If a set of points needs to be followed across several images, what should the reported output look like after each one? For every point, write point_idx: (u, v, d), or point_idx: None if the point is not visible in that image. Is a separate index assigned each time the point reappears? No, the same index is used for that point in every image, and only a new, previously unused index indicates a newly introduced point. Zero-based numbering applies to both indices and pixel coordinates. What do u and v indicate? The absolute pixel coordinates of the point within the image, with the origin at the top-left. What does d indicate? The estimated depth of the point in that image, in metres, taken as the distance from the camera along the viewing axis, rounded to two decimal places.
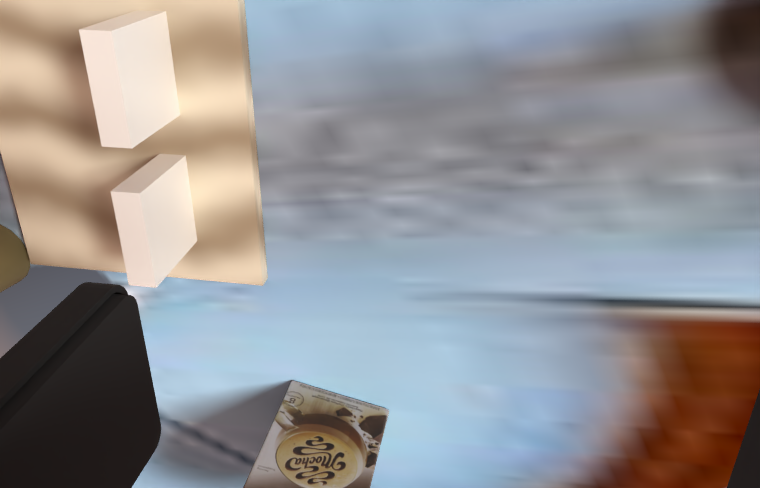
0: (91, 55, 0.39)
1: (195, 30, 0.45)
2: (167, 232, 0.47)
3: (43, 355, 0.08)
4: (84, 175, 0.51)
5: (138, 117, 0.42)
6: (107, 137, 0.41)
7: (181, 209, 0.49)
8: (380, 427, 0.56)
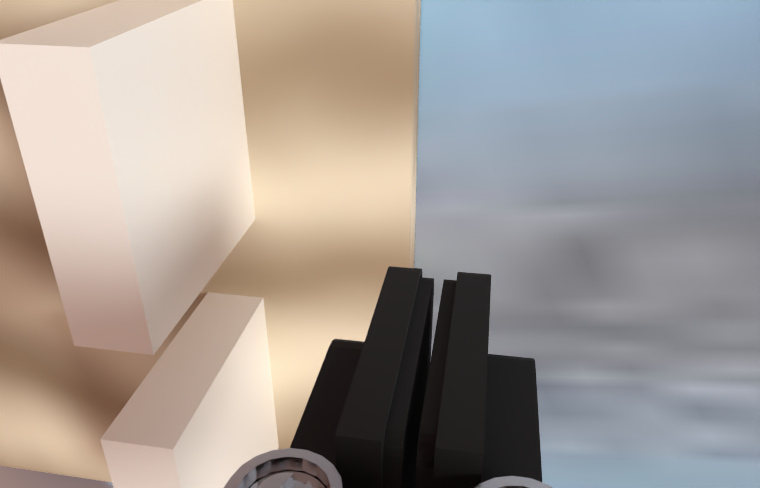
0: (33, 119, 0.13)
1: (301, 34, 0.19)
2: None
3: (402, 333, 0.09)
4: (54, 324, 0.25)
5: (168, 268, 0.16)
6: (88, 326, 0.16)
7: (255, 411, 0.23)
8: None
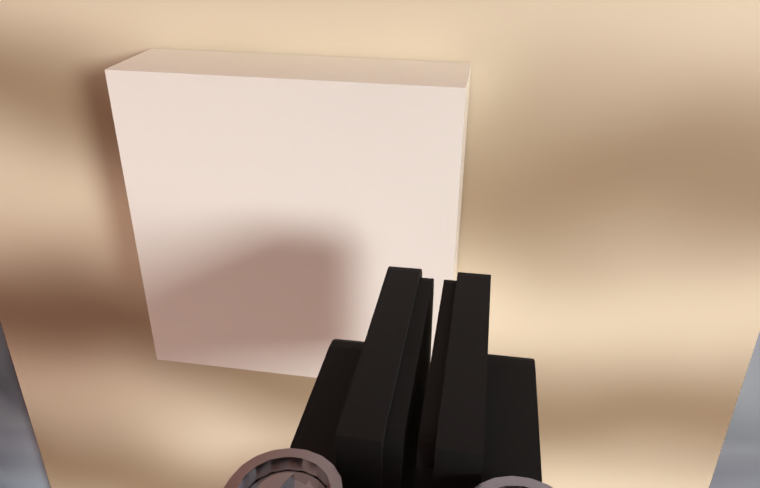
0: None
1: (658, 127, 0.14)
2: None
3: (402, 333, 0.09)
4: (232, 457, 0.21)
5: (201, 311, 0.16)
6: None
7: None
8: None
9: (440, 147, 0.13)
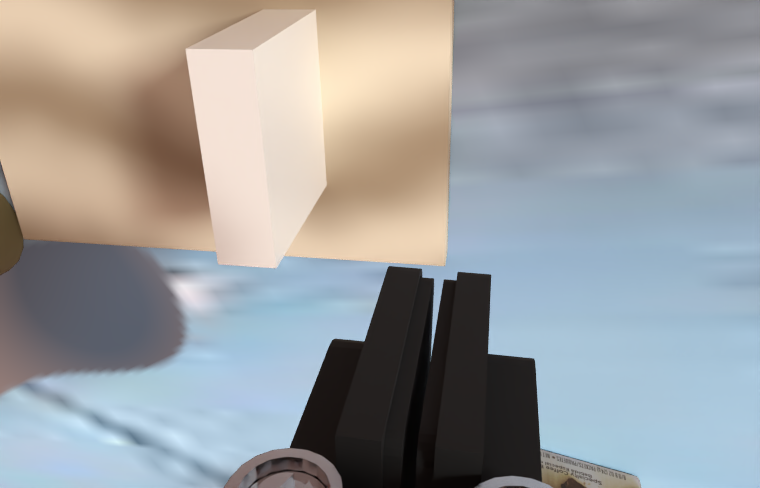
0: None
1: None
2: (291, 156, 0.23)
3: (402, 332, 0.09)
4: (116, 64, 0.27)
5: None
6: None
7: (309, 116, 0.25)
8: None
9: None
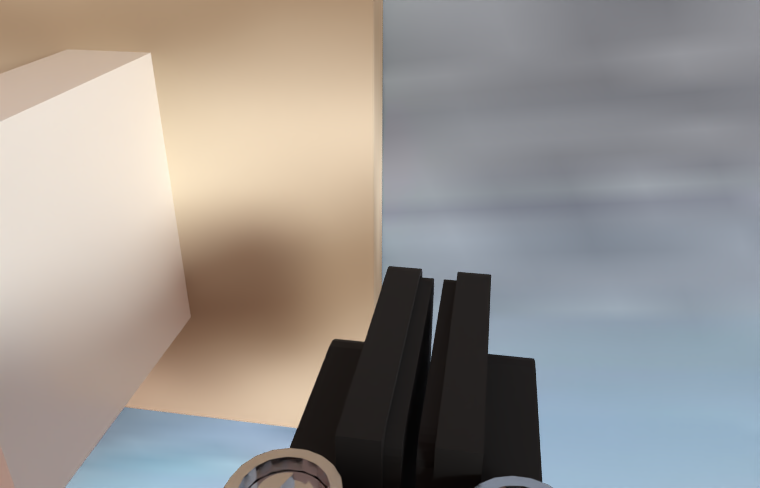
0: None
1: None
2: (78, 317, 0.13)
3: (402, 333, 0.09)
4: None
5: None
6: None
7: (138, 230, 0.15)
8: None
9: None
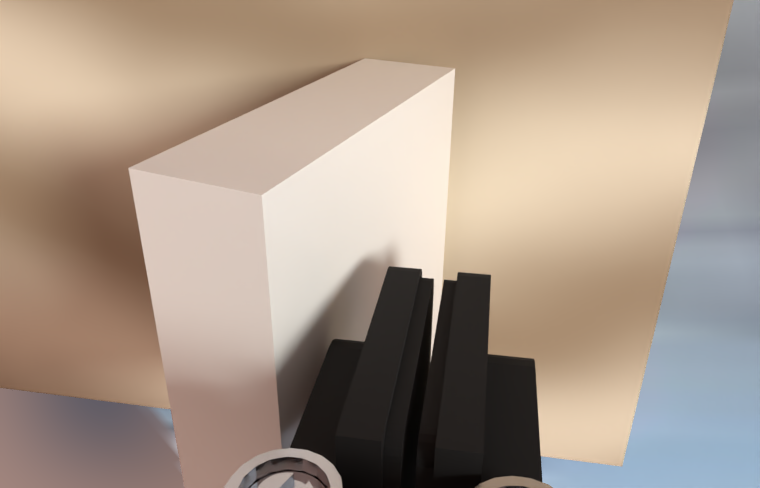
0: None
1: None
2: None
3: (402, 333, 0.09)
4: (102, 137, 0.16)
5: None
6: None
7: (416, 260, 0.14)
8: None
9: None
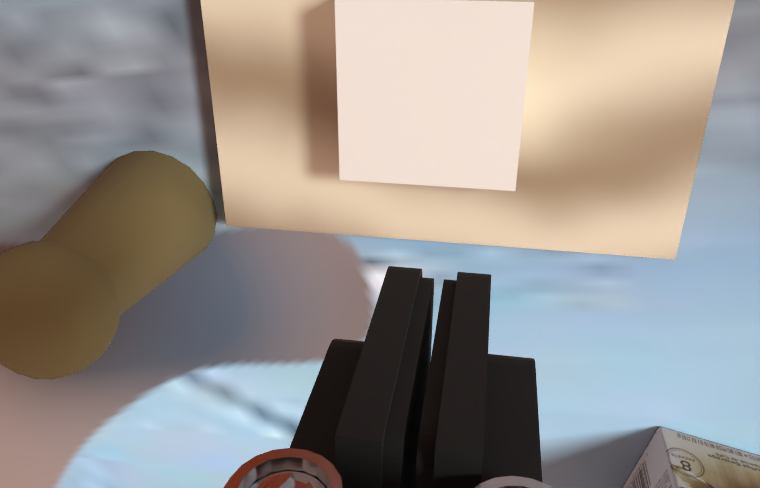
0: None
1: None
2: (404, 112, 0.26)
3: (402, 333, 0.09)
4: None
5: None
6: None
7: (474, 100, 0.25)
8: None
9: None
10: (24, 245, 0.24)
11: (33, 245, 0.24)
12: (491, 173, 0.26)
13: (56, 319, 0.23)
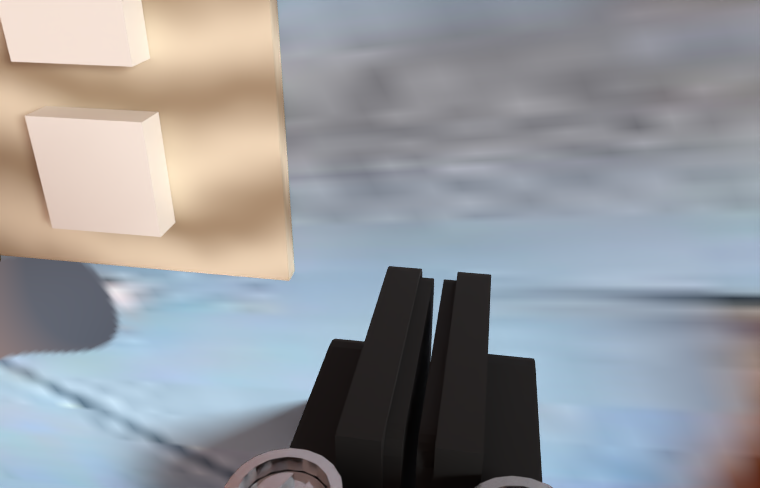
0: None
1: None
2: (82, 186, 0.39)
3: (402, 333, 0.09)
4: None
5: (26, 32, 0.36)
6: None
7: (122, 179, 0.39)
8: None
9: None
10: None
11: None
12: (143, 225, 0.40)
13: None
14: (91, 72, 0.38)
